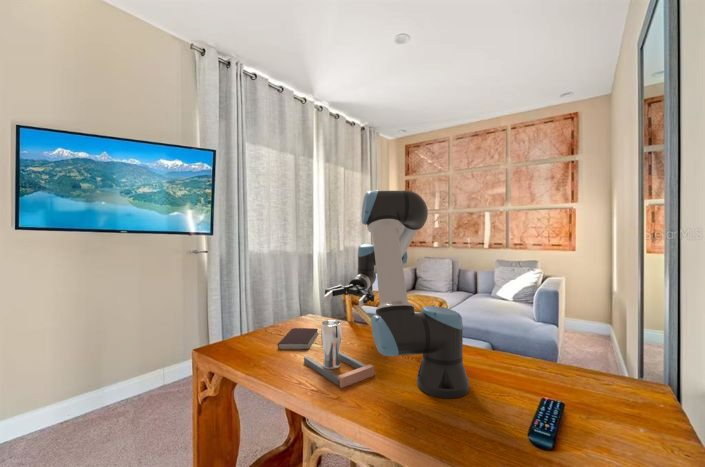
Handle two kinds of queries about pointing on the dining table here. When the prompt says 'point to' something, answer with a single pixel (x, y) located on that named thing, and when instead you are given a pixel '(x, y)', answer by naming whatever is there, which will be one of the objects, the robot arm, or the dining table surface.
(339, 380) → the guide channel
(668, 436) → the dining table surface
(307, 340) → the book
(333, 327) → the shiny metal tumbler
